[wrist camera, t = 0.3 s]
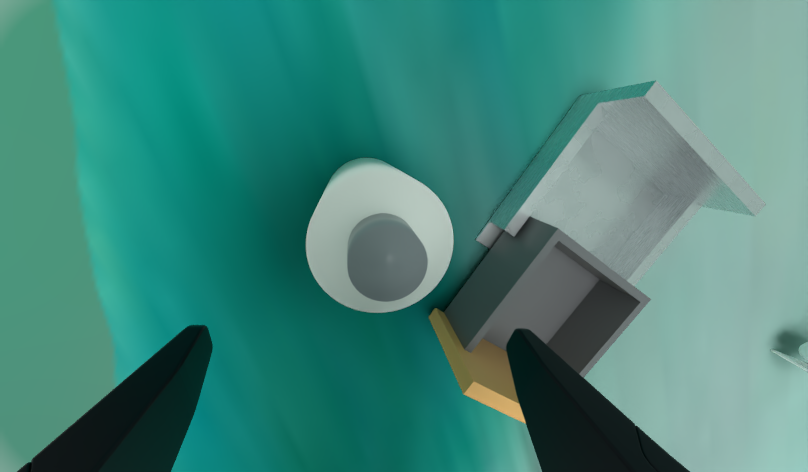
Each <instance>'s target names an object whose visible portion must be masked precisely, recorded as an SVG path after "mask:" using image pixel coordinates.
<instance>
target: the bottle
mask: <svg viewBox="0 0 808 472" xmlns="http://www.w3.org/2000/svg"><path fill="white" fill-rule="evenodd" d="M452 251H453V228H452V224H451V220H450V217H449V215H448V212H447V210H446V208H445V207H444V205H443V203H442V202H441V201H440V199H439V198H438V197H437V196H436V194H434V193H433V192H432V191H431V190H430V189H429V188H428V187H426V186H425V185H424V184H422V183H421V182H419V181H417V180H416V179H414V178H412V177H410V176H409V175H407V174H405V173H403V172H402V171H400V170H398V169H396V168H395V167H393V166H391V165H389V164H388V163H386V162H384V161H381V160H379V159H375V158H358V159H354V160H351V161H349V162H347V163H345V164H344V165H342V166H341V167H340V168H339V169H337V170H336V172H335V173H334V174H333V176H332V177H331V179H330V181H329V183H328V185H327V187H326V189H325V191H324V193H323V195H322V197H321V199H320V201H319V203H318V205H317V207H316V209H315V211H314V213H313V215H312V218H311V220H310V223H309V226H308V229H307V236H306V254H307V260H308V263H309V267H310V269H311V271H312V274H313V276H314V278H315V279H316V281H317V282H318V284H319V285H320V286H321V287H322V289H323V290H324V291H325V292H326V293H327V294H328V295H329V296H331V297H332V298H333V299H335V300H336V301H338V302H339V303H341V304H343V305H345V306H347V307H350V308H352V309H355V310H359V311H363V312H371V313H384V312H391V311H396V310H400V309H403V308H405V307H408V306H410V305H412V304H414V303H416V302H418V301H419V300H421V299H422V298H424V297H425V296H426V295H427V294H429V293H430V292H431V291H432V290H433V289H434V288H435V287H436V286H437V284H438V283H439V282H440V280H441V279H442V277H443V276H444V274H445V272H446V270H447V268H448V266H449V263H450V260H451V256H452Z"/></svg>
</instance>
